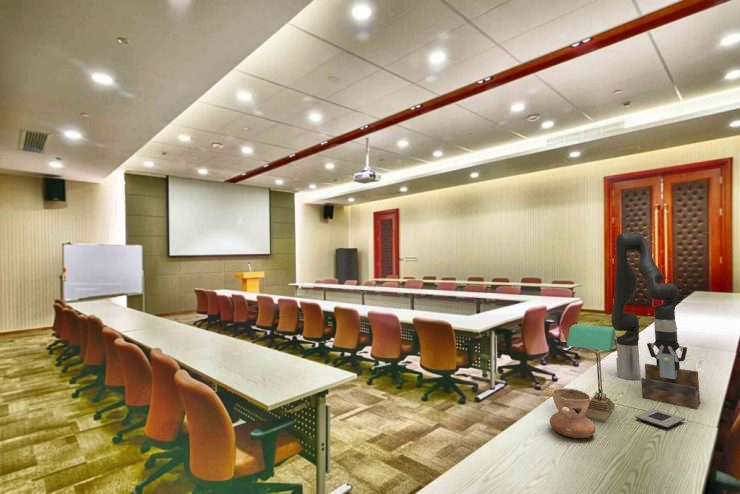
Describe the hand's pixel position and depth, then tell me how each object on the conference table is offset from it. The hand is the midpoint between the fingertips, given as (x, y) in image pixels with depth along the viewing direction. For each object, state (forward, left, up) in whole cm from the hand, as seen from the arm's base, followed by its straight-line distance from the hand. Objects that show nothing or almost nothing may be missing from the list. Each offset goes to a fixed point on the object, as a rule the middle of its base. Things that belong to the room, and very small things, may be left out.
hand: (668, 368), depth 158 cm
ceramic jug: (-19, -59, -14) cm, 63 cm away
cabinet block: (0, 0, -3) cm, 3 cm away
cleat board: (0, 0, -13) cm, 13 cm away
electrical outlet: (+1, -28, -14) cm, 31 cm away
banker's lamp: (-18, -35, -14) cm, 41 cm away
